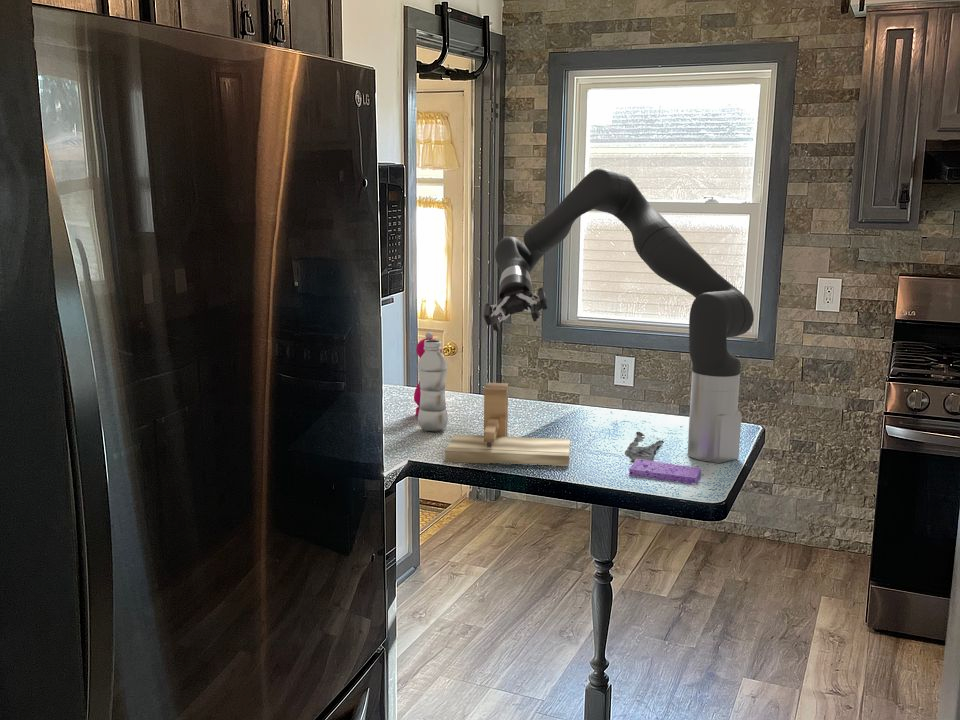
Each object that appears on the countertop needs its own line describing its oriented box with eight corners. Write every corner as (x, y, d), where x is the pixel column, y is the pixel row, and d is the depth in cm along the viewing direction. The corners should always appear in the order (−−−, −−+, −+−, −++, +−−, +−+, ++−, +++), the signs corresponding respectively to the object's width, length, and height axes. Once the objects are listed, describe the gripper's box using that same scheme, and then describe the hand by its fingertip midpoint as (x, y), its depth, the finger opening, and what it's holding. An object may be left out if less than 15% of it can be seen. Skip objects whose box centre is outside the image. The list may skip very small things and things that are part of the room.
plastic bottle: (441, 435, 189) (442, 344, 185) (413, 432, 191) (412, 342, 187) (452, 428, 195) (452, 339, 191) (424, 425, 197) (424, 338, 193)
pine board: (454, 444, 182) (454, 434, 182) (569, 449, 179) (570, 439, 179) (445, 461, 170) (445, 450, 170) (568, 467, 168) (569, 455, 167)
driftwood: (651, 467, 170) (651, 457, 170) (616, 463, 172) (617, 453, 172) (667, 441, 189) (668, 432, 189) (636, 438, 191) (636, 429, 191)
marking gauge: (486, 437, 188) (487, 382, 186) (507, 437, 188) (508, 383, 185) (477, 461, 170) (477, 401, 168) (500, 462, 170) (500, 402, 168)
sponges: (636, 467, 170) (636, 458, 169) (702, 476, 165) (702, 466, 164) (627, 477, 163) (628, 468, 163) (696, 487, 158) (696, 477, 158)
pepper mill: (443, 419, 203) (443, 334, 199) (412, 419, 203) (412, 334, 199) (445, 412, 210) (445, 329, 206) (415, 411, 210) (415, 329, 206)
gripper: (481, 282, 202) (478, 317, 189) (540, 265, 199) (541, 299, 186) (491, 309, 206) (489, 345, 192) (549, 292, 203) (551, 328, 190)
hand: (515, 323), depth 189 cm, fingers open, 8 cm apart
